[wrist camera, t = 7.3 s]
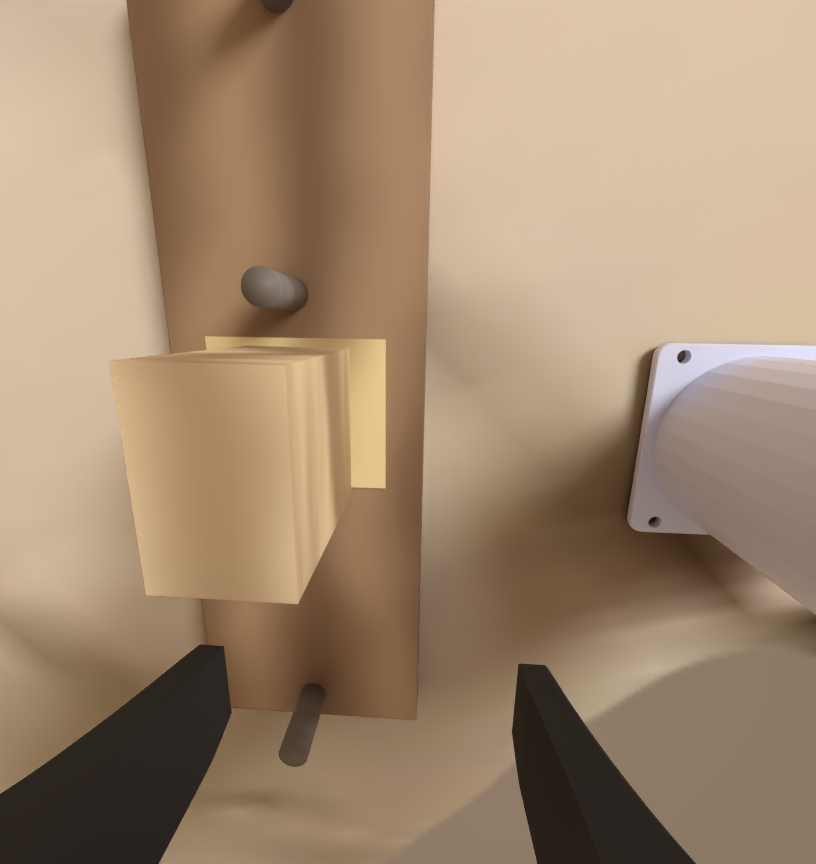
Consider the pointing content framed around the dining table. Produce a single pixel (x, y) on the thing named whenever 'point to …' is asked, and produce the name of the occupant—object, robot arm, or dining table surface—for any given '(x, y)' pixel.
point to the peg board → (307, 297)
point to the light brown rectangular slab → (235, 466)
